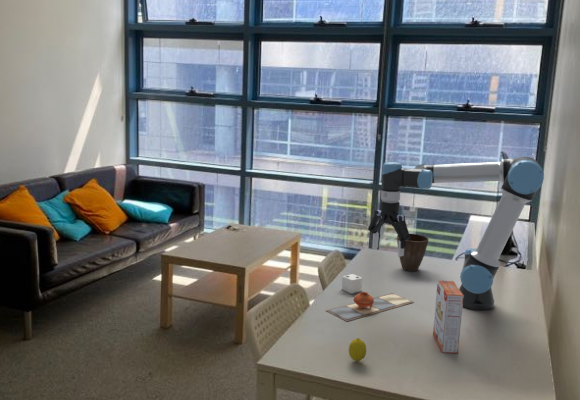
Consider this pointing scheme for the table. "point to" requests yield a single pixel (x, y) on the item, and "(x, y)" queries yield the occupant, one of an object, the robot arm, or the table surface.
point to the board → (378, 306)
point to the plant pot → (413, 252)
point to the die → (352, 283)
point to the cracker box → (448, 316)
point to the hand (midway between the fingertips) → (387, 252)
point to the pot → (363, 300)
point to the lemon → (357, 349)
